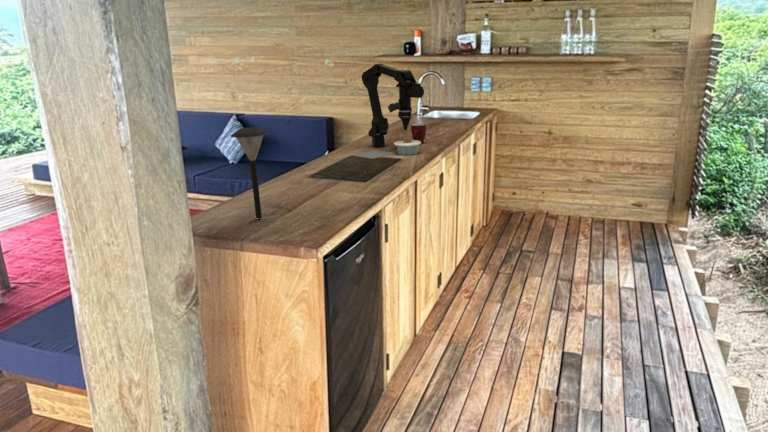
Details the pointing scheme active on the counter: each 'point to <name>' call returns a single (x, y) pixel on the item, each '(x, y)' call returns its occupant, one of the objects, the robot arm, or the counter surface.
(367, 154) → the mat
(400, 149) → the bowl
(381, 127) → the robot arm
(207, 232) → the counter surface
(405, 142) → the lid
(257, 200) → the solar garden light
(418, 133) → the mug
